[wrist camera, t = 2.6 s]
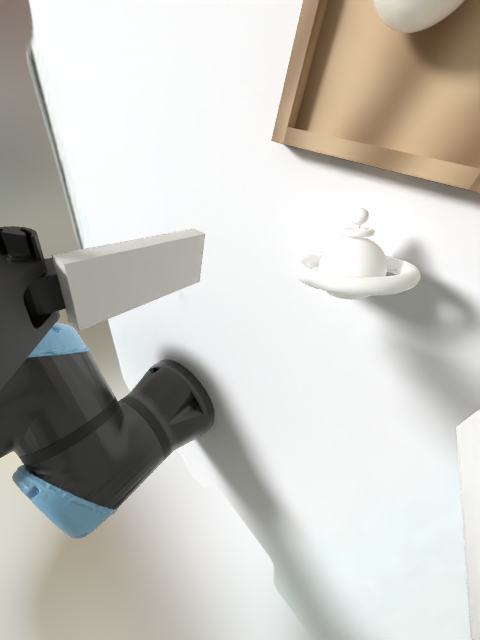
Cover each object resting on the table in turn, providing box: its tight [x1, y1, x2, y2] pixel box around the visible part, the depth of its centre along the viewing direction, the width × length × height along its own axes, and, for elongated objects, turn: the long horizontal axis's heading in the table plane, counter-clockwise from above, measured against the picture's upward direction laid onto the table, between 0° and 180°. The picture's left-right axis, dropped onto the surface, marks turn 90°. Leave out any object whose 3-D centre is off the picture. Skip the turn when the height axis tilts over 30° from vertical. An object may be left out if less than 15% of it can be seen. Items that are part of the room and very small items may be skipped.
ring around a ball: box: [292, 209, 421, 299], centre depth 17 cm, size 8×6×8 cm
